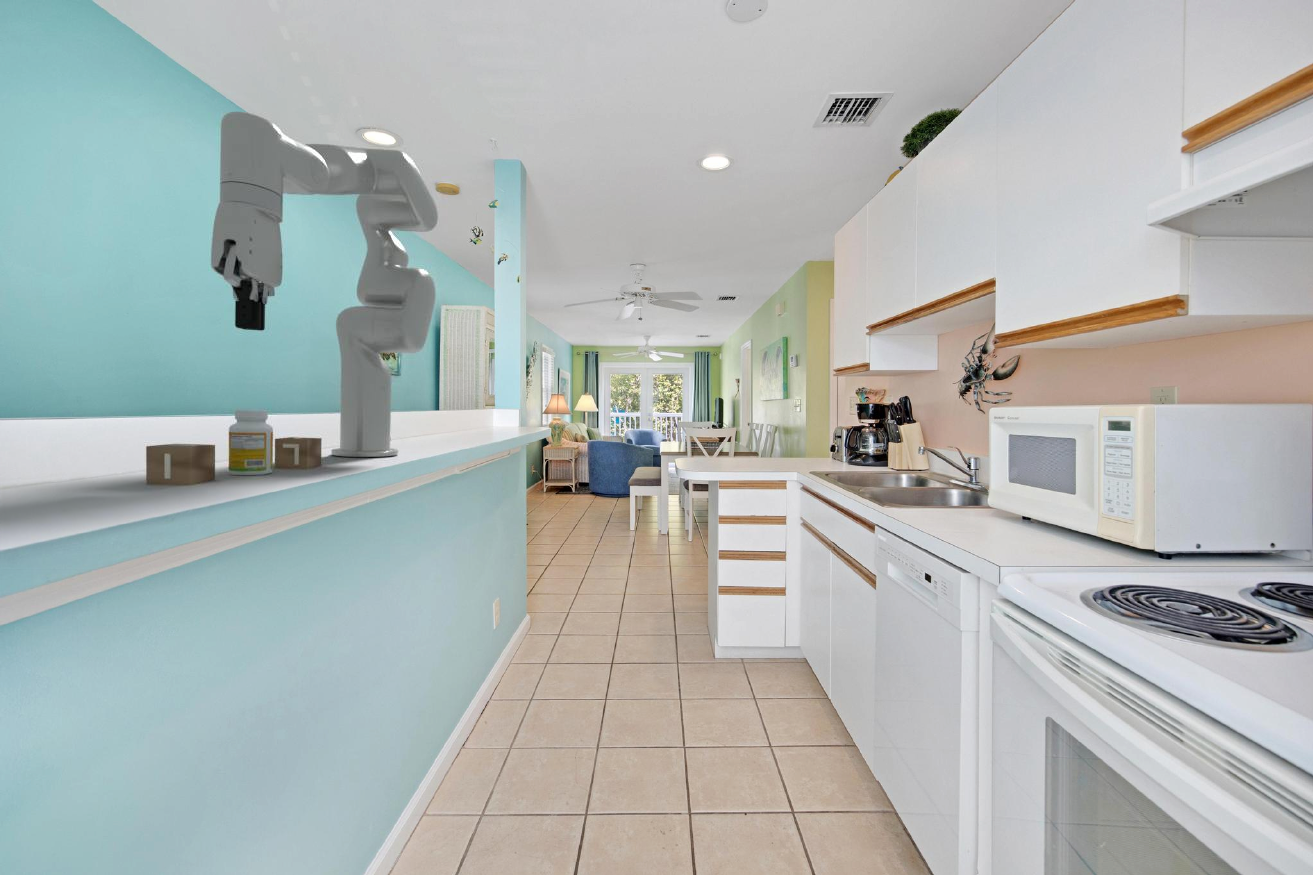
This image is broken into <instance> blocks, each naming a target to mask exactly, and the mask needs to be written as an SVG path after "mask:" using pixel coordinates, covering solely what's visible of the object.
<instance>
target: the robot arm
mask: <svg viewBox="0 0 1313 875" xmlns="http://www.w3.org/2000/svg"><path fill="white" fill-rule="evenodd" d="M219 153H220V155H219V156H220V160H219V162H220V164H219V166H220V167H219V170H220V172H219V203H218V206H217V208H216V211H215V217H214V221H213V222H214V223H213V229H212V230H213V231H212V238H211V248H210V250H211V252H210V266H211V269H212V270H213V271H214V272H215V273H216V274H218V275H220V276H222V277H223V279H224V281H225V282H227V283H228V284H229V285H231V288H232V297H233V300H234V301H235V302H234V304H235V308H234V310H235V312H234V314H235V315H234V316H235V317H234V326H235V328H237V329H241V330H244V331H246V330H247V331H260V332H261V331H264V330H265V328H266V325H265V323H266V305H267V304H268V299H269V297H274V296H275V295H276V293H275V288H279V287H280V286H281V285H282V281H283V242H282V231H281V225H280V224H281V223H282V222H283V211H284V210H283V208H284V207H283V206H284V205H283V204H284V203H283V202H284V199H283V198H284V197H283V196H284V195H285V194H286V195H298V196H299V195H302V196H311V195H320V196H321V195H323V196H324V195H325V196H349V195H358V196H357V197H356V201H355V207H356V209H355V210H356V214H357V218H358V222H359V224H360V227H361V229H362V233H363V235H364V238H365V242H366V246H367V247H366V248H367V250H366V254H365V258H364V261H363V265H362V267H361V271H360V273H359V277H358V281H357V286H356V298H357V299H358V301H359V303H361V304H362V305H359V306H358V305H357V306H350V307H347V308H344V309H343V310H341V312H339V314H338V315H337V318H336V321H335V322H336V323H335V330H336V336H337V340H338V346H339V347H338V348H339V353H340V369H341V370H340V426H339V427H340V428H339V430H340V433H339V437H340V438H339V440H340V441H339V444H340V445H339V448H338V447H337V448H332V449H331V450H330V452H331V456H336V457H337V456H338V457H347V458H348V457H349V458H350V457H351V458H376V457H377V458H378V457H379V458H380V457H392V456H393V457H394V456H397V455H398V454H399V451H398V449H396V448H391V441H392V438H391V417H392V416H391V415H392V414H391V413H392V412H391V411H392V373H391V372H392V371H391V370H390V367H389V366H388V364H387V363H386V362H385V360H384V359H383V357H382V356H381V354H385V353H386V354H387V353H388V354H389V353H390V354H416V353H418V352H420V351H421V350H422V349H423V348H424V347H425V344H426V341H427V338H428V335H429V334H428V333H429V331H430V326H431V322H432V321H431V320H432V317H433V313H434V308H435V304H436V294H437V293H436V286H435V282H434V279H433V277H432V275H431V274H430V273H429V272H427V271H426V270H424V269H422V268H418V267H408V264H409V258H410V257H409V254H408V252H407V250H406V248H405V247H404V245H403V244H402V243H401V242H400V241H399V239H397V238H396V237H395V236H394V234H393V232H392V231H398V232H415V233H417V232H419V233H421V232H422V233H424V232H431V231H433V230H434V228H436V226H437V224H438V222H439V221H438V219H439V213H438V207H437V204H436V202H435V200H434V197H433V195H432V193H431V191H430V190H429V188H428V185H427V183H426V182H425V179H424V178H423V176H422V174H421V173H420V171H419V168H418V167H417V166H416V164H415V163H414V161H413V160H412V159H411V157H409V156H408V155H407V154H406V153H405V152H403V151H401V150H399V149H397V150H395V149H382V148H381V149H379V148H378V149H377V148H363V147H352V146H344V145H343V146H342V145H337V144H336V145H335V144H326V143H325V144H324V143H323V144H322V143H321V144H320V143H303V142H300V141H299V140H297V139H294V138H293V137H291V136H289V135H286V134H285V133H283V132H282V131H281V130H280V128H279V127H278V126H277V125H276V124H275V123H273V122H272V121H270V120H268V119H266V118H264V117H261V116H259V115H256V114H254V113H249V112H242V111H230V112H228V113H226V114H225V115H223V116H222V118H221V124H220V152H219ZM283 194H284V195H283Z"/></svg>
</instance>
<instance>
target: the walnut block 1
mask: <svg viewBox="0 0 1313 875" xmlns="http://www.w3.org/2000/svg"><path fill="white" fill-rule="evenodd" d="M145 447H146V448H145V453H146V454H145V457H146V458H145V460H146V461H145V466H146V469H145V470H146V471H145V472H146V474H145V475H146V478H145V480H146V485H153V486H156V485H161V486H162V485H165V486H167V485H169V486H192V485H197V484H202V483H203V484H204V483H208V482H212V481H216V444H202V443H201V444H200V443H198V444H195V443H169V444H156V445H146V446H145Z"/></svg>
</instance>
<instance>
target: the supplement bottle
mask: <svg viewBox="0 0 1313 875" xmlns="http://www.w3.org/2000/svg"><path fill="white" fill-rule="evenodd" d="M268 414H269V413H268V410H265V409H235V410H234V419H235V420H236V422H235V423H233V424H230V426H229V428H228V473H229V474H230V475H232V476H263V475H269V474H272V472H273V470H274V467H273V465H274V461H273V460H274V459H273V457H274V455H273V454H274V452H273V451H274V450H273V449H274V447H273V446H274V444H273V442H274V429H273V426H272V425H270V424H268V423H267V422H266V421H267V420H268V417H269V416H268Z"/></svg>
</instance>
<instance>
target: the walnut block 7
mask: <svg viewBox="0 0 1313 875" xmlns="http://www.w3.org/2000/svg"><path fill="white" fill-rule="evenodd" d="M322 440H323V439H322V437H298V436H294V437H292V436H289V437H282V438H281V437H279V438H274V469H284V470H287V469H288V470H289V469H291V470H292V469H293V470H308V469H314V468H319V467H321V466H322Z"/></svg>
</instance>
